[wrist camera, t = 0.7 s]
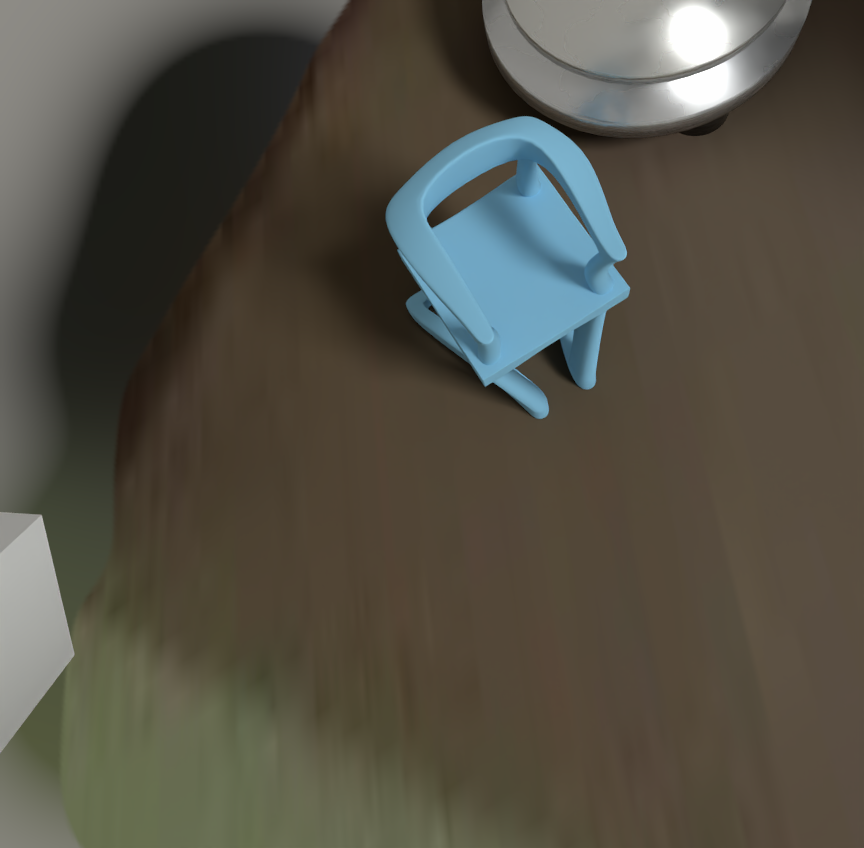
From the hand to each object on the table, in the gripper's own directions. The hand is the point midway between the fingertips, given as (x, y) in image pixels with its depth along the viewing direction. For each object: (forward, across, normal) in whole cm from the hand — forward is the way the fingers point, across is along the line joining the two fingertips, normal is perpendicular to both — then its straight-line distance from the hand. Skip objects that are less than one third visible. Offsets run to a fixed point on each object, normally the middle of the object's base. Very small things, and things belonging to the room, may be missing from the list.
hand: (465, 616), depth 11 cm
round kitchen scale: (+35, +6, +10) cm, 37 cm away
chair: (+25, +1, -4) cm, 26 cm away
